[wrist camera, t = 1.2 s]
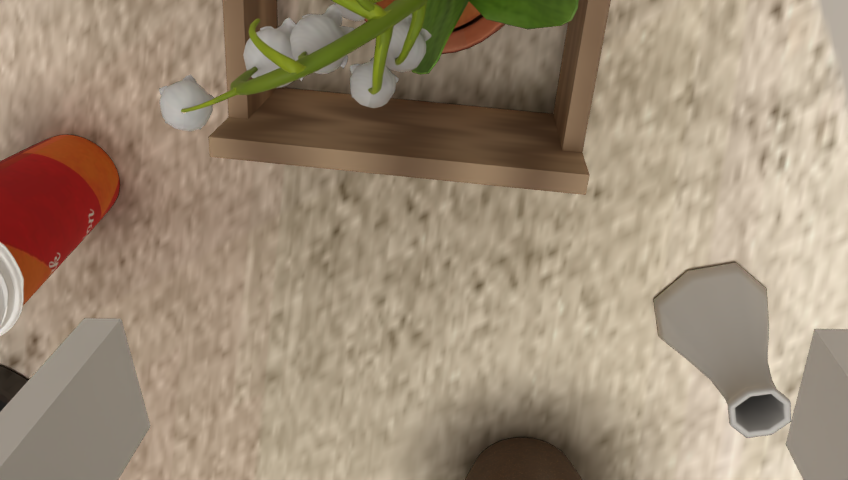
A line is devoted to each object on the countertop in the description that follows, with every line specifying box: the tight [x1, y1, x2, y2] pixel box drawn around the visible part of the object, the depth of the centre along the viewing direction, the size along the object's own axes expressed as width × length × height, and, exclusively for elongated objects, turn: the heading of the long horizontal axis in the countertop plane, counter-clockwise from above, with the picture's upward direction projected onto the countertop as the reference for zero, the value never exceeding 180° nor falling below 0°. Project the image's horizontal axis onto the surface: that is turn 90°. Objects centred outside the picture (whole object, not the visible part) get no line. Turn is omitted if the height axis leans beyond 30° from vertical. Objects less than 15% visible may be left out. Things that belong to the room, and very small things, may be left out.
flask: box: [654, 263, 791, 438], centre depth 43 cm, size 7×7×10 cm
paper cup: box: [0, 135, 120, 336], centre depth 40 cm, size 8×8×14 cm
